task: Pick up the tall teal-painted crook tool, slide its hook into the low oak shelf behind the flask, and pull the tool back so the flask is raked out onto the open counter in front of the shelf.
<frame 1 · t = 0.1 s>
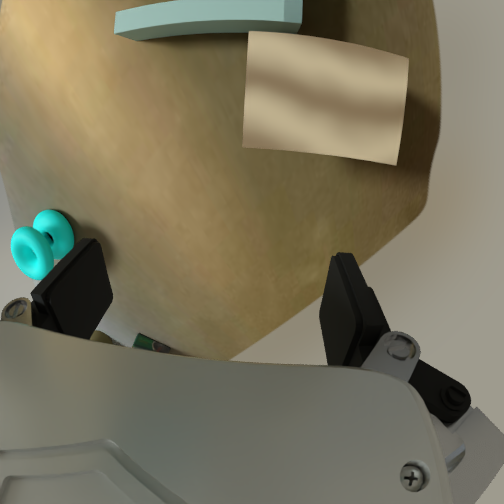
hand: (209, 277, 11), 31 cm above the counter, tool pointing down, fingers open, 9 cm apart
oak cubby: (308, 96, 34), on the counter
crook tool: (212, 23, 29), on the counter
coffee box: (153, 342, 59), on the counter
cork: (101, 339, 60), on the counter
donuts: (57, 230, 46), on the counter
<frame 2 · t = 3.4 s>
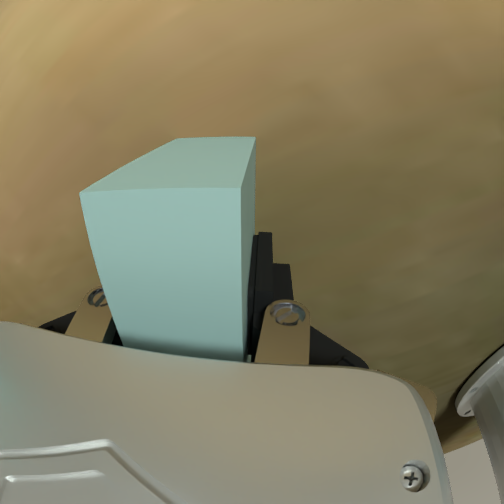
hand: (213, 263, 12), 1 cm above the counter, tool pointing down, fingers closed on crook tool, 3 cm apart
crook tool: (225, 339, 16), on the counter, touching gripper
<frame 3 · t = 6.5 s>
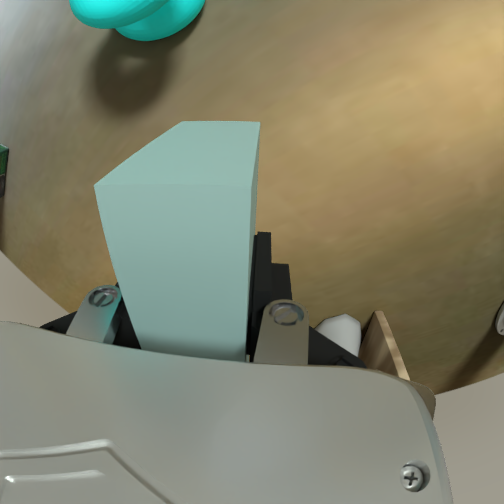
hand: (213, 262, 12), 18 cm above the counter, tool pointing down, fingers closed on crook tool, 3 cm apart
oak cubby: (332, 348, 40), on the counter
crook tool: (223, 315, 17), point 16 cm above the counter, tilted 5°, touching gripper
coffee box: (2, 170, 29), on the counter
donuts: (161, 1, 20), on the counter
flask: (336, 331, 39), on the counter
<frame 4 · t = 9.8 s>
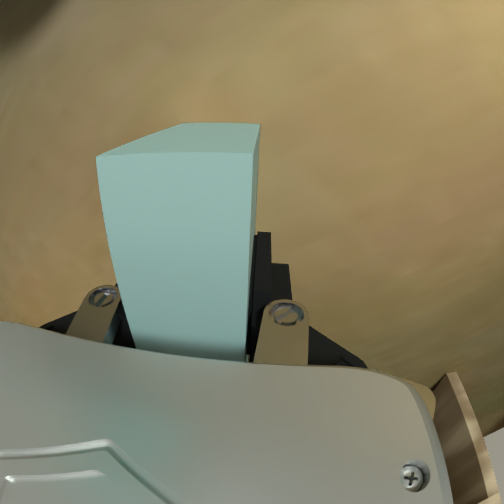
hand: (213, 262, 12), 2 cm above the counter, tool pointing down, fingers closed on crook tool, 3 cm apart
oak cubby: (374, 422, 23), on the counter
crook tool: (222, 326, 17), on the counter, touching gripper
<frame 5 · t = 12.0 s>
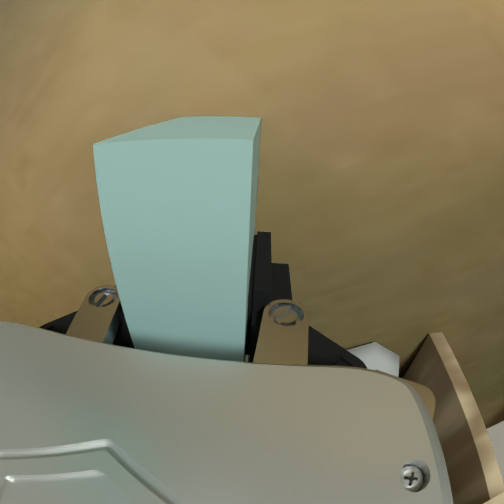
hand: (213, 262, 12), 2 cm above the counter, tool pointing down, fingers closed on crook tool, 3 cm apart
oak cubby: (343, 399, 20), on the counter
crook tool: (221, 323, 16), on the counter, touching gripper
flask: (352, 373, 19), on the counter
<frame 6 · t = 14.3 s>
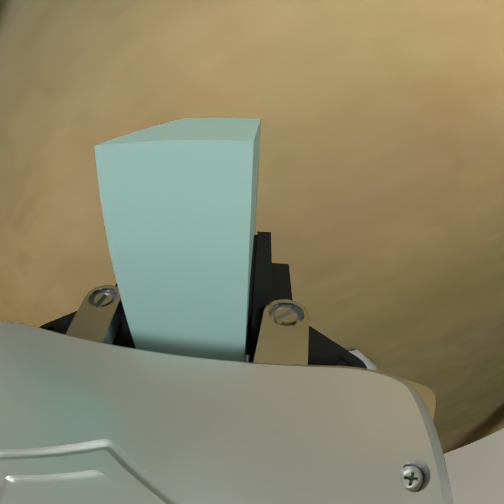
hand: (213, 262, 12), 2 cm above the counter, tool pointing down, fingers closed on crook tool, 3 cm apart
crook tool: (222, 323, 16), on the counter, touching gripper, flask
when the fingers open (2 cm above the counter, at t = 15.8 s): crook tool stays where it is, on the counter.
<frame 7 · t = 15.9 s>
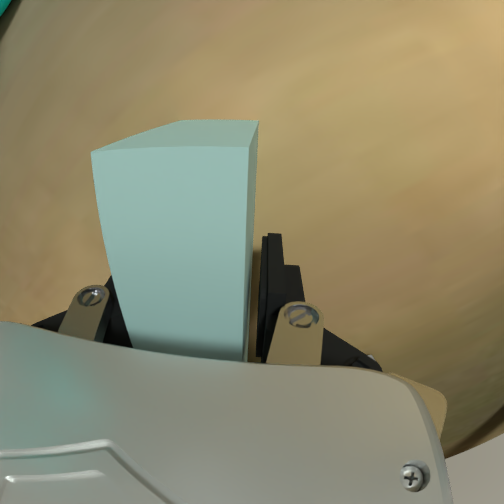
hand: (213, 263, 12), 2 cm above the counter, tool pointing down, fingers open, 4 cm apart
crook tool: (221, 324, 16), on the counter
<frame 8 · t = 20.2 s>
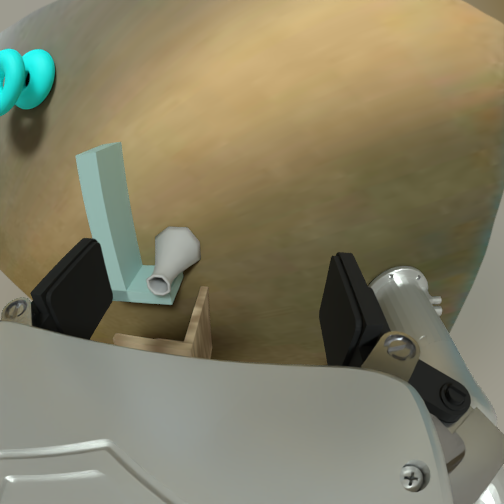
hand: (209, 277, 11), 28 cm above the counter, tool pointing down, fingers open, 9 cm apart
oak cubby: (179, 317, 50), on the counter
crook tool: (122, 214, 41), on the counter
donuts: (37, 78, 30), on the counter
flask: (178, 246, 44), on the counter
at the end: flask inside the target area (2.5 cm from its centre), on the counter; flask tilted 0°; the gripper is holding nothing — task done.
